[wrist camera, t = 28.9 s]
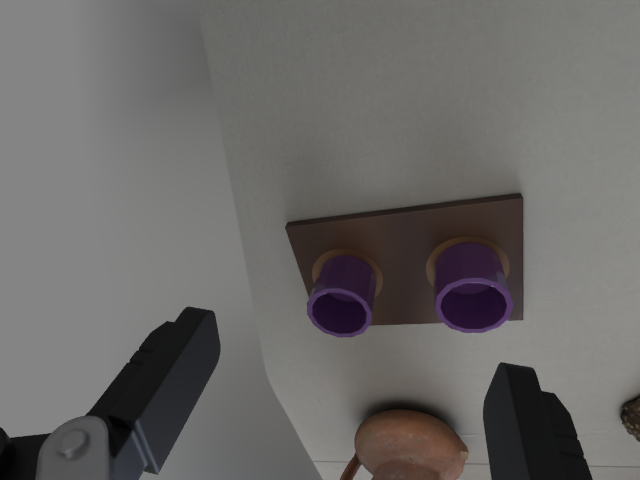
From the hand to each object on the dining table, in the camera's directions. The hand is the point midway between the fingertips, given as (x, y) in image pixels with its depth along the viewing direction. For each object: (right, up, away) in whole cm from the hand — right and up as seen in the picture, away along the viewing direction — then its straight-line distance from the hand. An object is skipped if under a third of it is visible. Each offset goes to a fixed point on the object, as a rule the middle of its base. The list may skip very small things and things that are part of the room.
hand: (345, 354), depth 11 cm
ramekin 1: (+2, -1, +31) cm, 31 cm away
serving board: (+8, 0, +30) cm, 31 cm away
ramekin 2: (+13, 0, +27) cm, 30 cm away
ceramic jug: (+11, -23, +45) cm, 52 cm away
